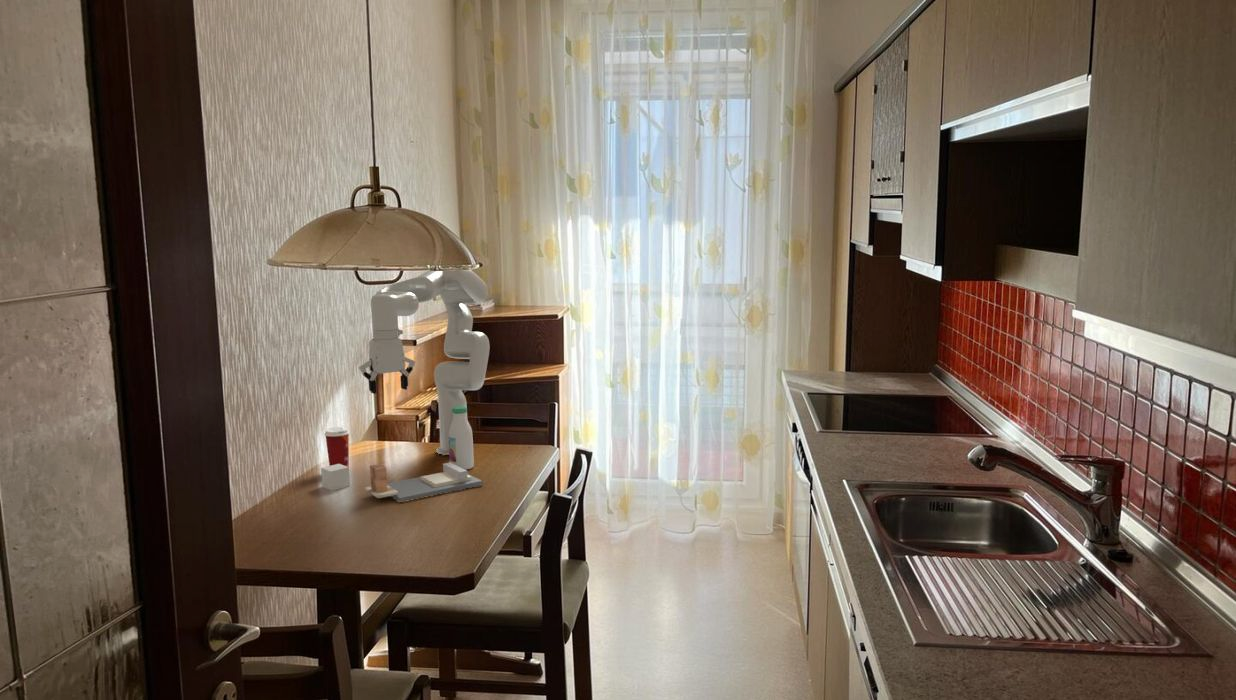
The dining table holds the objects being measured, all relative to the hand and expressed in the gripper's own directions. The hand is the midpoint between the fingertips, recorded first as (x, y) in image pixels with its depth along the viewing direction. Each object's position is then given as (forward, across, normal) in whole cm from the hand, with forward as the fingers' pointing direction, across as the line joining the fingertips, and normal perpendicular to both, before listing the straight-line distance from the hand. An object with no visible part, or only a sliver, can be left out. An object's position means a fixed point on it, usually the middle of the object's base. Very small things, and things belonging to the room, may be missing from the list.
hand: (389, 390), depth 267 cm
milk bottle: (+28, -23, 0) cm, 37 cm away
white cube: (+29, +16, -6) cm, 33 cm away
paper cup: (+28, +10, -21) cm, 37 cm away
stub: (+27, +9, +14) cm, 31 cm away
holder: (+28, -6, +14) cm, 32 cm away
